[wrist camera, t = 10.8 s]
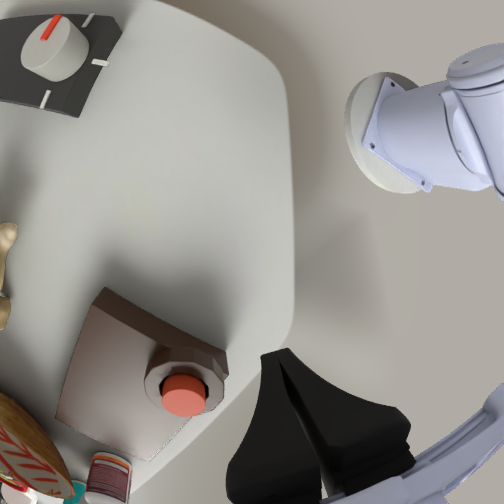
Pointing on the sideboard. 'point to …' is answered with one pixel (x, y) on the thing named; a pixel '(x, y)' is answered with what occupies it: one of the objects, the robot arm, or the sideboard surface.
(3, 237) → the cat figurine
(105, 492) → the pill bottle
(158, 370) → the brown button box
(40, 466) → the bowl
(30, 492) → the white u-slot block
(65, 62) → the knob
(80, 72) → the panel
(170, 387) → the power button
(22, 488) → the toy clock
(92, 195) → the sideboard surface
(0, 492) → the game controller
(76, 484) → the beverage can
